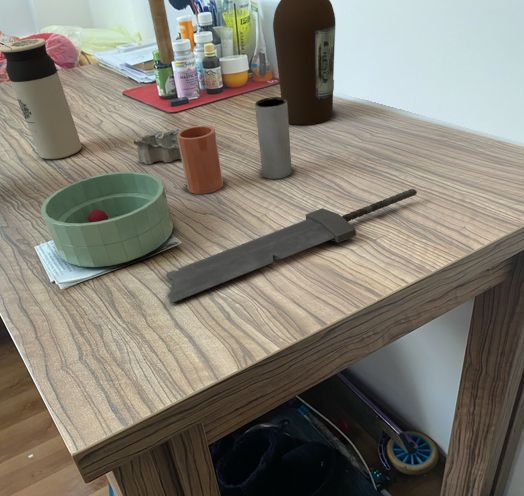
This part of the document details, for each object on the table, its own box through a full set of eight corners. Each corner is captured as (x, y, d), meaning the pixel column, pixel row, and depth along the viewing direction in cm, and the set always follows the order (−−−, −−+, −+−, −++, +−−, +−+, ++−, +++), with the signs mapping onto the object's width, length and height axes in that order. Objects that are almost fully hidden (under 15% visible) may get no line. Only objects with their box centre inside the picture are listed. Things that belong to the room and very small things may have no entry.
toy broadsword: (154, 283, 60) (149, 268, 58) (396, 190, 69) (396, 175, 68) (175, 313, 55) (170, 297, 53) (433, 208, 64) (434, 192, 63)
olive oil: (269, 124, 96) (255, -42, 80) (296, 106, 103) (287, -51, 86) (320, 128, 92) (316, -47, 75) (345, 110, 98) (345, -56, 82)
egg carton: (136, 166, 87) (129, 141, 84) (147, 149, 93) (141, 126, 90) (197, 161, 86) (192, 136, 83) (204, 145, 91) (200, 121, 89)
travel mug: (78, 141, 100) (43, 35, 88) (85, 153, 95) (49, 42, 83) (37, 151, 98) (-5, 44, 86) (42, 164, 93) (-2, 51, 81)
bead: (89, 234, 68) (83, 216, 67) (94, 225, 70) (87, 207, 69) (108, 232, 68) (102, 214, 67) (112, 223, 70) (106, 205, 68)
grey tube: (294, 167, 80) (289, 96, 73) (288, 179, 76) (283, 106, 70) (265, 167, 81) (258, 97, 74) (259, 179, 77) (251, 107, 71)
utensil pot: (186, 195, 76) (174, 141, 70) (189, 181, 80) (178, 128, 75) (222, 191, 75) (213, 136, 70) (223, 177, 80) (215, 123, 74)
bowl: (43, 276, 62) (23, 231, 58) (75, 218, 74) (60, 178, 70) (166, 263, 61) (154, 217, 58) (179, 207, 73) (170, 166, 69)
